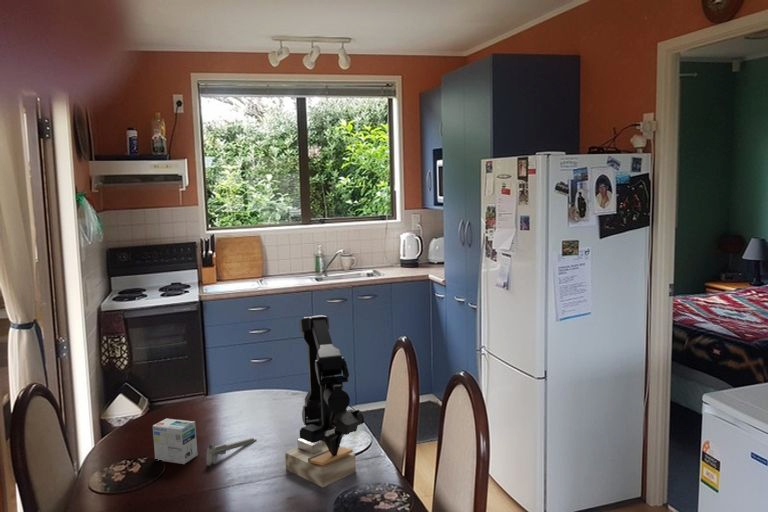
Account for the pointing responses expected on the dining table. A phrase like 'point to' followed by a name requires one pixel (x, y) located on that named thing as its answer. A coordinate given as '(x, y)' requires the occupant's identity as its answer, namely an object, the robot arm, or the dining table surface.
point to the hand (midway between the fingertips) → (334, 455)
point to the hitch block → (319, 466)
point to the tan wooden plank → (329, 456)
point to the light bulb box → (175, 440)
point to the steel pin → (309, 446)
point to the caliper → (224, 449)
